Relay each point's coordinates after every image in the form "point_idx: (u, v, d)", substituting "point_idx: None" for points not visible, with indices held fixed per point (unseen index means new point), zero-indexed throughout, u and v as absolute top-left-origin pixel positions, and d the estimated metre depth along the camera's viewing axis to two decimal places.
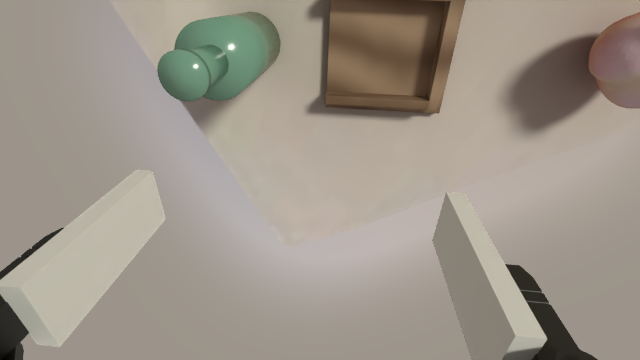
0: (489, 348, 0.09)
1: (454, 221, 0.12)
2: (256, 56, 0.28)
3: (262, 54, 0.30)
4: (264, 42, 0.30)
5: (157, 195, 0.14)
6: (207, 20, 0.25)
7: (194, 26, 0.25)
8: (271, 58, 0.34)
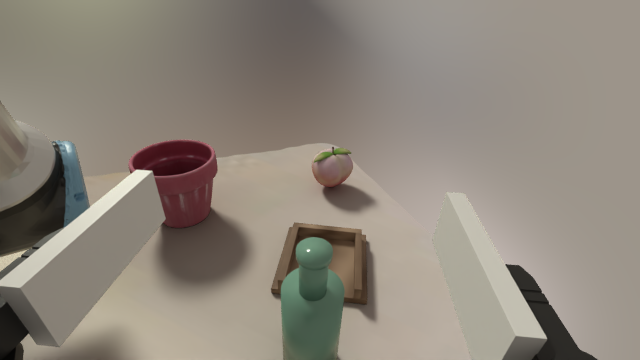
0: (489, 348, 0.09)
1: (454, 221, 0.12)
2: None
3: None
4: None
5: (157, 195, 0.14)
6: (282, 285, 0.32)
7: (284, 294, 0.31)
8: None
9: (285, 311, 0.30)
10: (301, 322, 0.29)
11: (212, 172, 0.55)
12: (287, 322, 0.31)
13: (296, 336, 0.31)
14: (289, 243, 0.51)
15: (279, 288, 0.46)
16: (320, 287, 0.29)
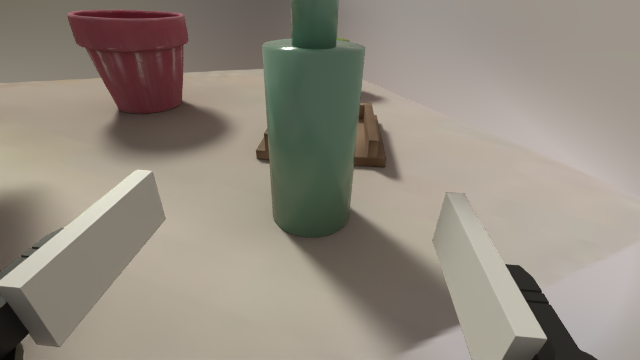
0: (489, 348, 0.09)
1: (454, 221, 0.12)
2: None
3: None
4: None
5: (157, 195, 0.14)
6: (264, 44, 0.20)
7: (268, 46, 0.19)
8: None
9: (270, 68, 0.18)
10: (296, 72, 0.17)
11: (180, 34, 0.43)
12: (274, 90, 0.19)
13: (289, 115, 0.19)
14: None
15: (267, 149, 0.34)
16: (327, 15, 0.18)
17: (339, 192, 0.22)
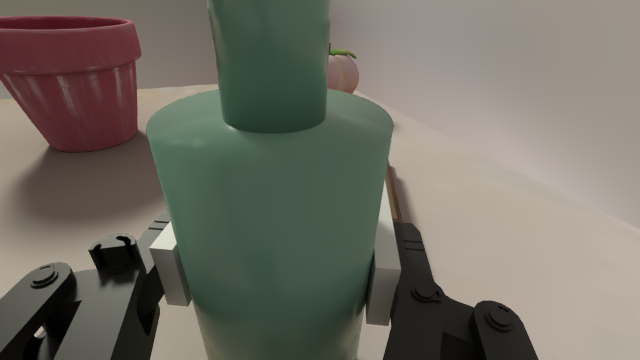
0: (369, 285, 0.11)
1: None
2: None
3: None
4: None
5: None
6: (165, 109, 0.09)
7: (163, 122, 0.08)
8: None
9: (162, 181, 0.07)
10: (217, 208, 0.06)
11: (124, 49, 0.32)
12: (177, 229, 0.08)
13: (215, 286, 0.08)
14: None
15: None
16: (300, 54, 0.07)
17: None
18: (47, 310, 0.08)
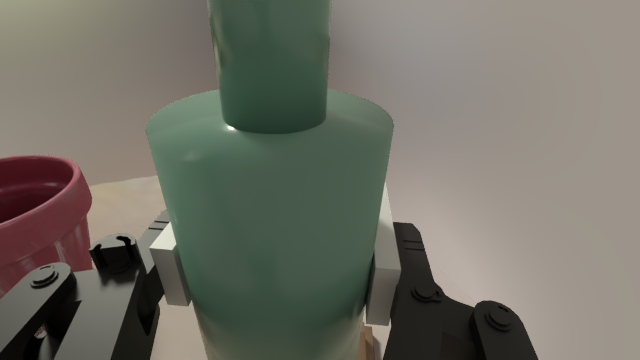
0: (369, 285, 0.11)
1: None
2: None
3: None
4: None
5: None
6: (165, 109, 0.09)
7: (162, 122, 0.08)
8: None
9: (161, 181, 0.07)
10: (217, 208, 0.06)
11: (65, 219, 0.28)
12: (177, 229, 0.08)
13: (214, 287, 0.08)
14: None
15: None
16: (301, 54, 0.07)
17: None
18: (47, 310, 0.08)
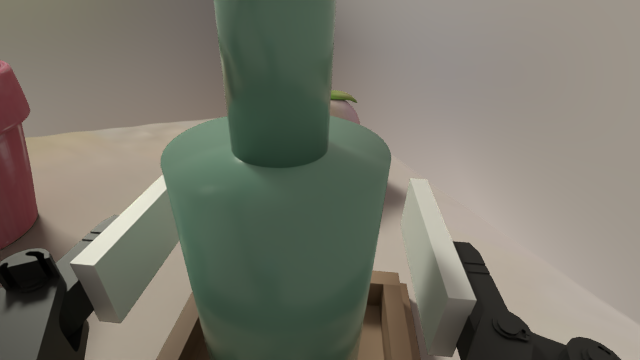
0: (432, 313, 0.10)
1: (414, 204, 0.13)
2: None
3: None
4: None
5: None
6: (177, 139, 0.09)
7: (175, 155, 0.08)
8: None
9: (175, 211, 0.08)
10: (227, 240, 0.07)
11: None
12: (188, 255, 0.08)
13: (223, 309, 0.08)
14: (174, 334, 0.16)
15: None
16: (305, 97, 0.07)
17: None
18: None
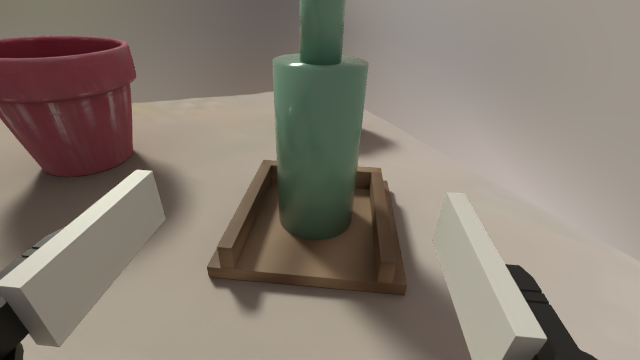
0: (489, 348, 0.09)
1: (453, 220, 0.12)
2: None
3: None
4: None
5: (157, 195, 0.14)
6: (274, 59, 0.21)
7: (278, 62, 0.20)
8: None
9: (280, 82, 0.20)
10: (305, 87, 0.19)
11: (118, 73, 0.31)
12: (284, 103, 0.20)
13: (298, 126, 0.20)
14: (251, 187, 0.28)
15: (223, 266, 0.22)
16: (334, 34, 0.19)
17: (343, 198, 0.24)
18: None
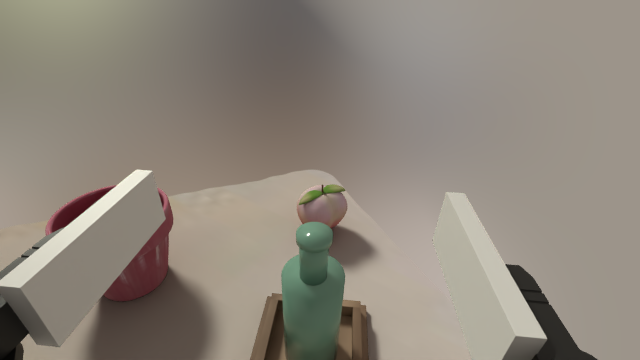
0: (489, 348, 0.09)
1: (454, 221, 0.12)
2: None
3: None
4: None
5: (157, 195, 0.14)
6: (282, 272, 0.32)
7: (285, 280, 0.31)
8: None
9: (287, 297, 0.30)
10: (303, 306, 0.29)
11: (163, 230, 0.42)
12: (289, 307, 0.31)
13: (298, 322, 0.31)
14: (264, 329, 0.38)
15: None
16: (321, 271, 0.30)
17: (329, 352, 0.34)
18: None
